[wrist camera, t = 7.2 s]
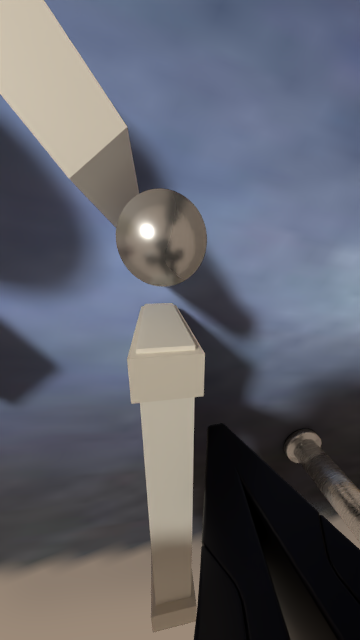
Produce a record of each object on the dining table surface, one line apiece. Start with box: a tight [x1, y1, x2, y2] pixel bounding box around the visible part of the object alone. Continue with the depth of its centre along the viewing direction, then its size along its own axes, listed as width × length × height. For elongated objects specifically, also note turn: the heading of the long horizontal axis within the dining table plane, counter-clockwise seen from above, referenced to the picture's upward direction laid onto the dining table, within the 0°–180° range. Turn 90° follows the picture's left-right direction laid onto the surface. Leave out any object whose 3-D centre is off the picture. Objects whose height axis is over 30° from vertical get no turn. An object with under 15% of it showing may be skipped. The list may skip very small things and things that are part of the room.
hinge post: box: [116, 189, 207, 286], centre depth 6 cm, size 2×2×5 cm
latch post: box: [284, 429, 360, 542], centre depth 10 cm, size 2×2×5 cm
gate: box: [127, 303, 205, 632], centre depth 7 cm, size 10×2×5 cm, turn 0°
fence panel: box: [0, 0, 139, 227], centre depth 4 cm, size 2×7×5 cm, turn 38°
